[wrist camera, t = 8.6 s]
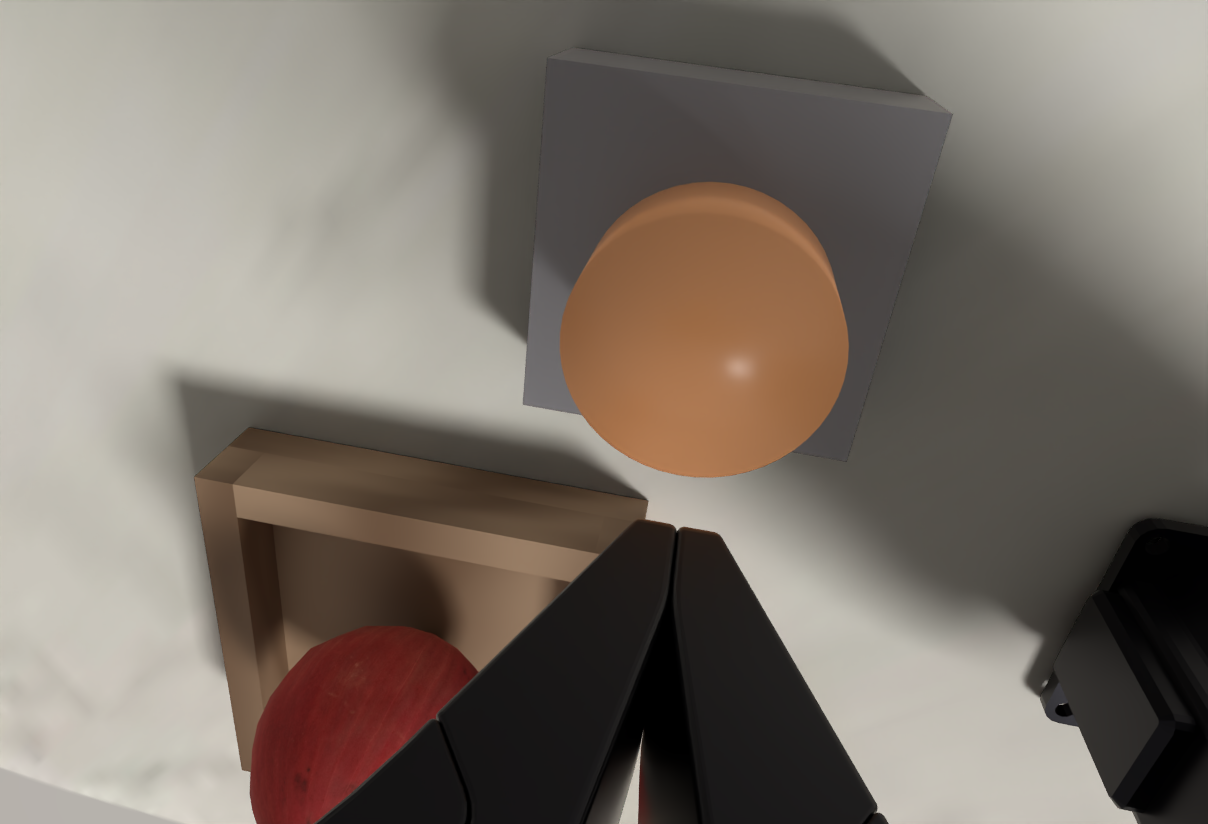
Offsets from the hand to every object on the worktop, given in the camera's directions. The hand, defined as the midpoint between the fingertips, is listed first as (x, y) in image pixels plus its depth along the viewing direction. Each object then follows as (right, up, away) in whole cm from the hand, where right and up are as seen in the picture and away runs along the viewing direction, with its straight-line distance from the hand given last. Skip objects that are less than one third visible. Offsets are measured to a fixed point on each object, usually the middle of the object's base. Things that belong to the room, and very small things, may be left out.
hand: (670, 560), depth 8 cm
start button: (+1, +3, +6) cm, 7 cm away
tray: (-6, -5, +16) cm, 18 cm away
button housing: (+2, +5, +10) cm, 11 cm away
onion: (-6, -5, +15) cm, 17 cm away
